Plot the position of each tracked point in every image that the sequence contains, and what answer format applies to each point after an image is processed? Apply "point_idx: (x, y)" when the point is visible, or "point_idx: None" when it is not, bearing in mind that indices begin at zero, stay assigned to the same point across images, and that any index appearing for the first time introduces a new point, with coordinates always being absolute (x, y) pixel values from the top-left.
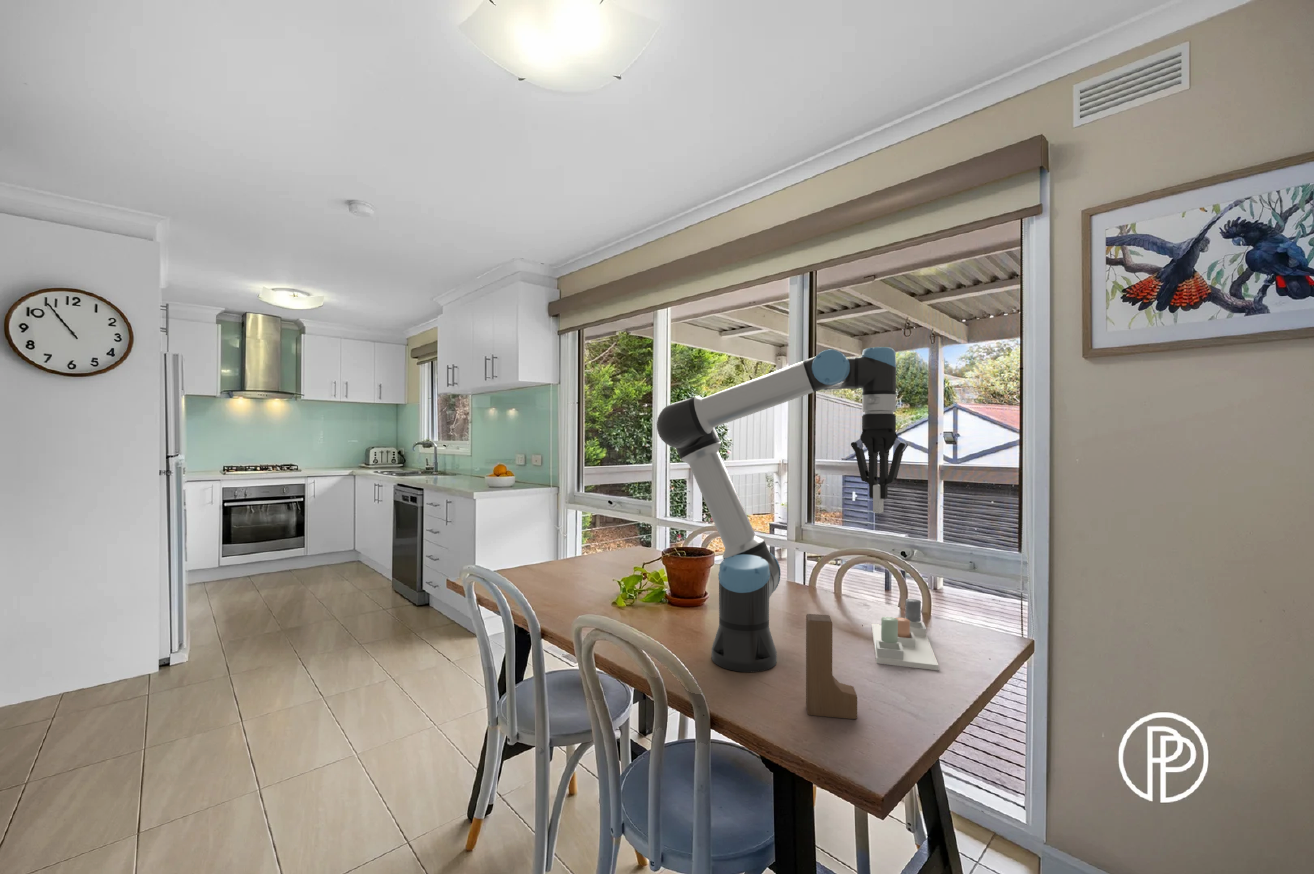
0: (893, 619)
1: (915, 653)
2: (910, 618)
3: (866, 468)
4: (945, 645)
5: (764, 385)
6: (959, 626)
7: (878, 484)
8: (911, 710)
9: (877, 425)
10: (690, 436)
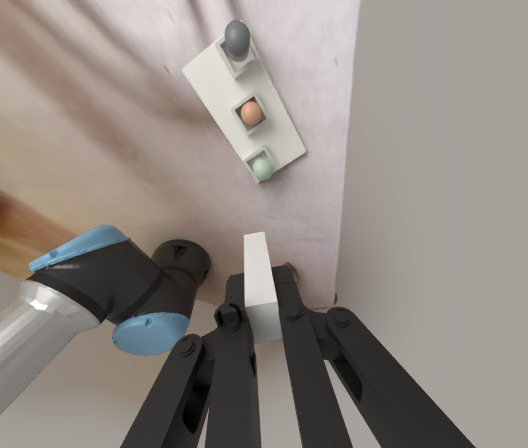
0: (266, 167)
1: (277, 138)
2: (239, 60)
3: (176, 443)
4: (282, 56)
5: None
6: None
7: (250, 306)
8: (315, 236)
9: None
10: None
